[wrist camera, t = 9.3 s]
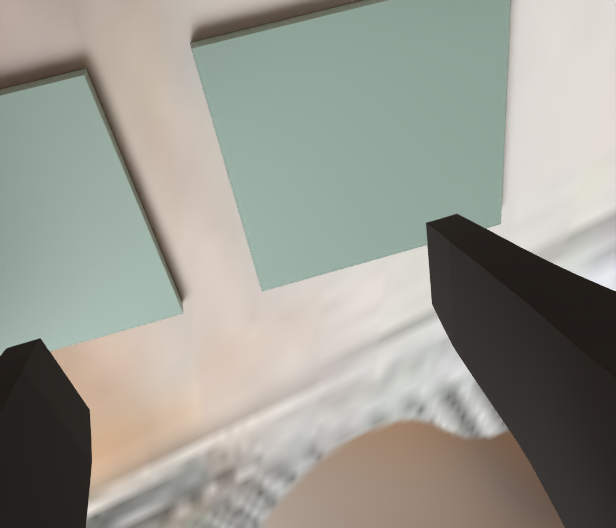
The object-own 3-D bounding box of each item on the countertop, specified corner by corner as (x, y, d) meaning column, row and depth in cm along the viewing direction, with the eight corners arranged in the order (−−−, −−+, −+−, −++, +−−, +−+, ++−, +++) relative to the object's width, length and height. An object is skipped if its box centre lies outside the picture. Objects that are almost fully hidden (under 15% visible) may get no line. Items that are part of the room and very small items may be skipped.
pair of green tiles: (-73, 375, 21) (-79, 387, 20) (-266, 154, 15) (-279, 164, 15) (493, 216, 23) (500, 223, 22) (502, -34, 17) (512, -31, 17)
